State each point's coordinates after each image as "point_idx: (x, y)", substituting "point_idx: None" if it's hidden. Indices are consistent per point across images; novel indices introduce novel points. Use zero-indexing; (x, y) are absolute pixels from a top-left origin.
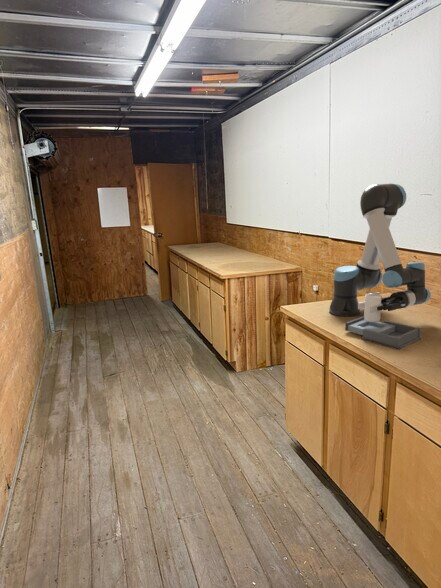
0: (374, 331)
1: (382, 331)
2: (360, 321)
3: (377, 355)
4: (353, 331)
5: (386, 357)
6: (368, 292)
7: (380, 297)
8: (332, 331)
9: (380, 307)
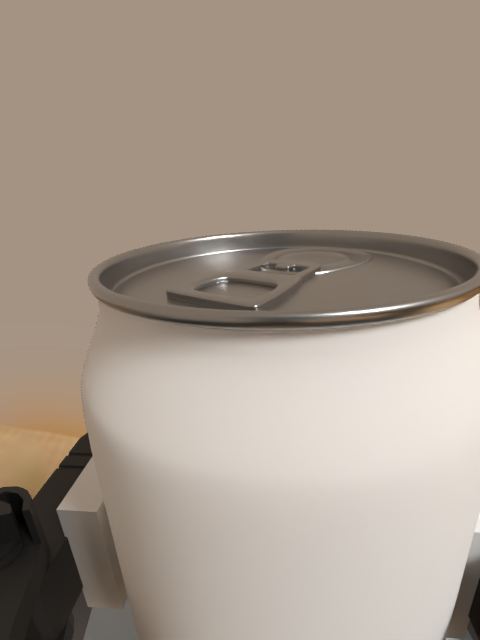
0: None
1: (88, 627)
2: None
3: (68, 441)
4: None
5: (25, 451)
6: (457, 262)
7: (84, 365)
8: None
9: (79, 444)
